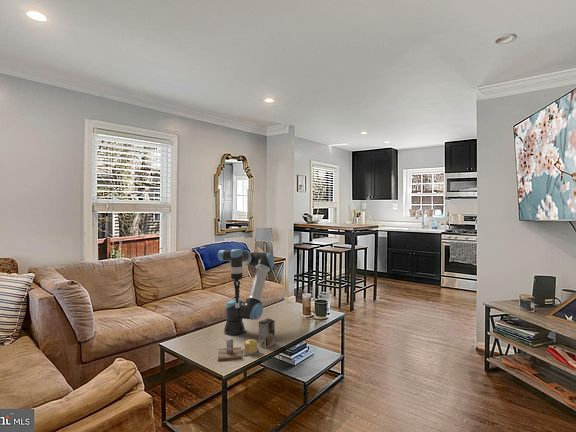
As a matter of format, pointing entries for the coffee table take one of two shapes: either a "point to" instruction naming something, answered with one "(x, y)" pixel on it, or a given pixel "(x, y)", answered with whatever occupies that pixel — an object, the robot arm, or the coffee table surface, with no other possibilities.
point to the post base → (229, 352)
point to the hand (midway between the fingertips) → (237, 304)
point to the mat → (251, 354)
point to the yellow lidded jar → (250, 346)
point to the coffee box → (266, 333)
